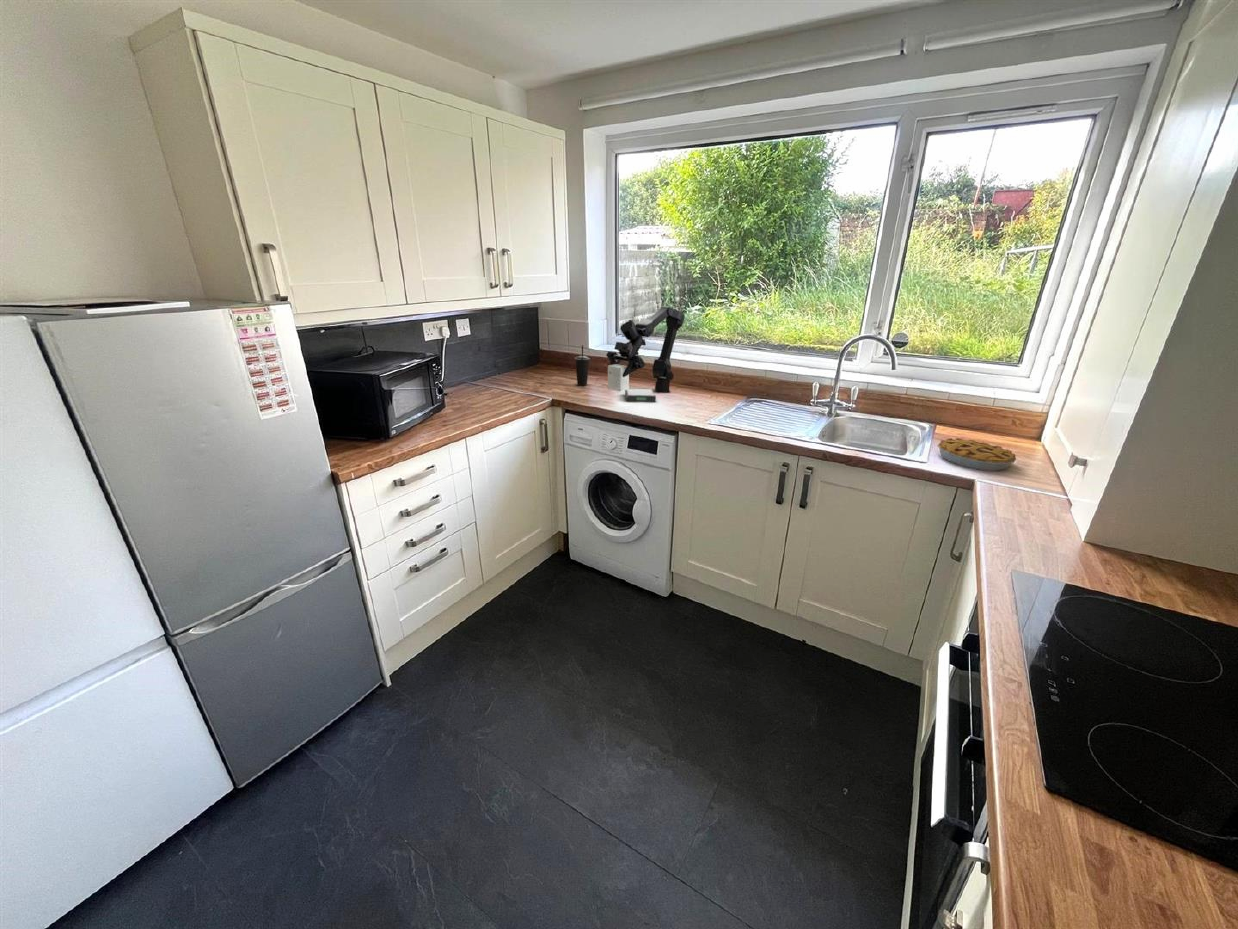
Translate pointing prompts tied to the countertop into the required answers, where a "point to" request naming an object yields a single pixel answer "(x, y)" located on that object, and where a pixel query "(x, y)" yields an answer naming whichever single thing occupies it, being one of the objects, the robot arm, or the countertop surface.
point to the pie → (976, 454)
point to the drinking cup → (582, 369)
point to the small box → (617, 378)
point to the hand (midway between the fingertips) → (616, 374)
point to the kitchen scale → (640, 395)
